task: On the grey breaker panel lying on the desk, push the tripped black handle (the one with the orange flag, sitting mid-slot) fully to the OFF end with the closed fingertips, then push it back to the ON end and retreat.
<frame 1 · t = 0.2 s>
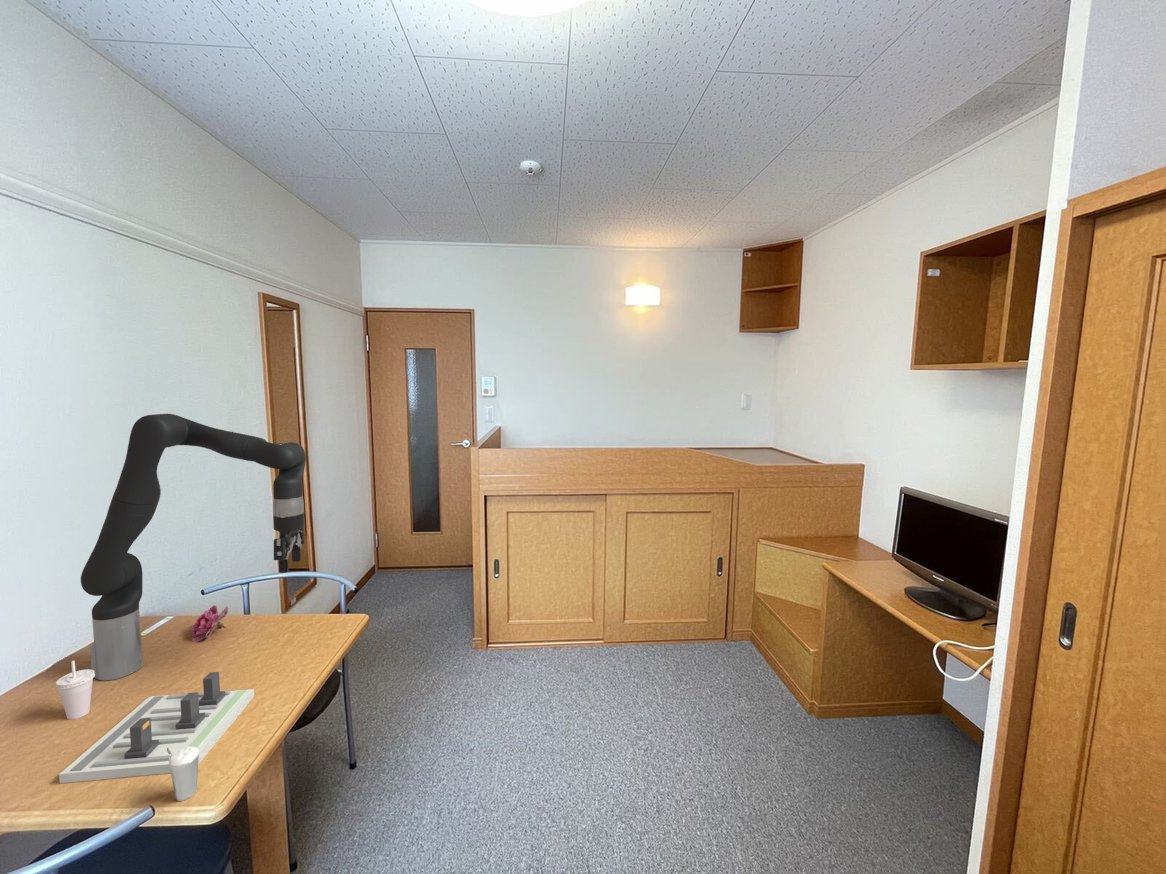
hand: (290, 566, 134), 29 cm above the table, fingers open, 8 cm apart
milkshake: (184, 795, 91), on the table
flower: (209, 635, 149), on the table
panel: (169, 734, 107), on the table
tripped breaker: (141, 737, 98), point 6 cm above the table, slide at 0.0 cm
smoothie: (78, 714, 112), on the table
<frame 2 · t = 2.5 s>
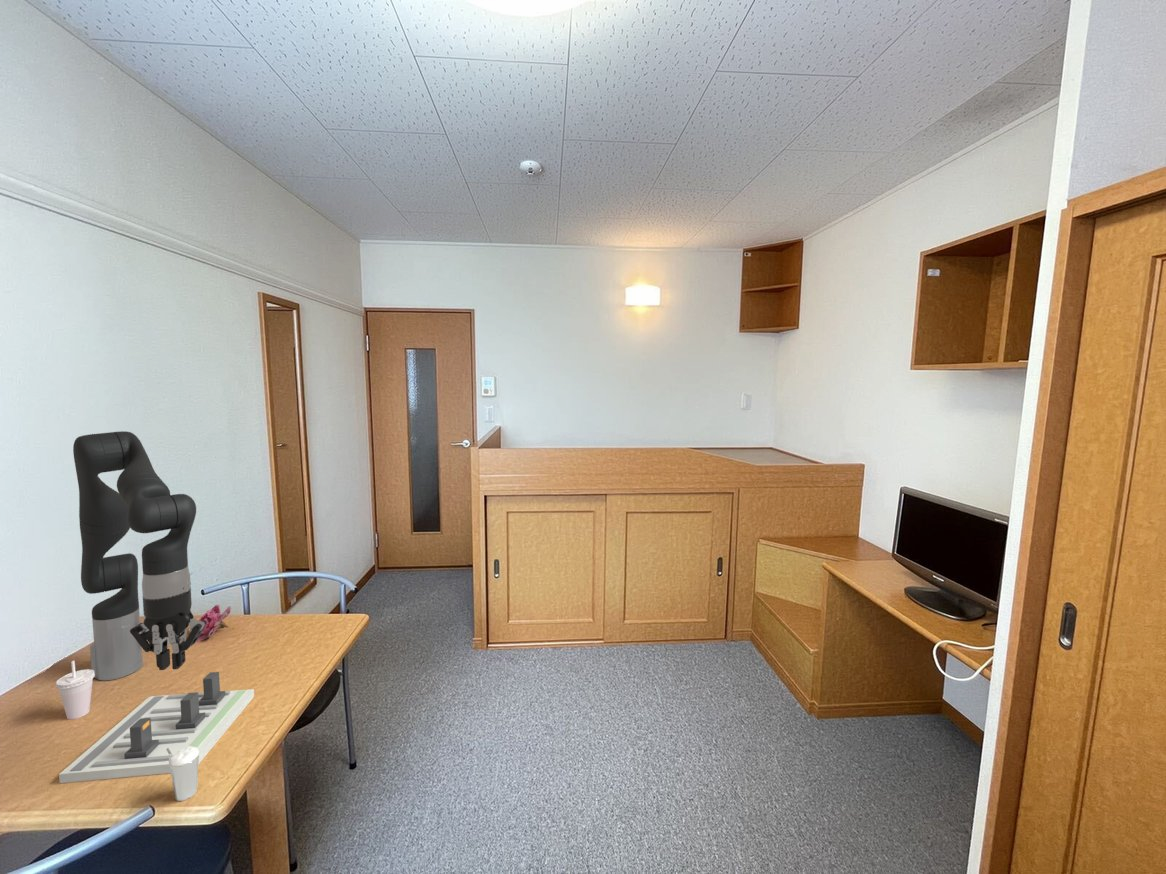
hand: (171, 667, 98), 21 cm above the table, fingers closed
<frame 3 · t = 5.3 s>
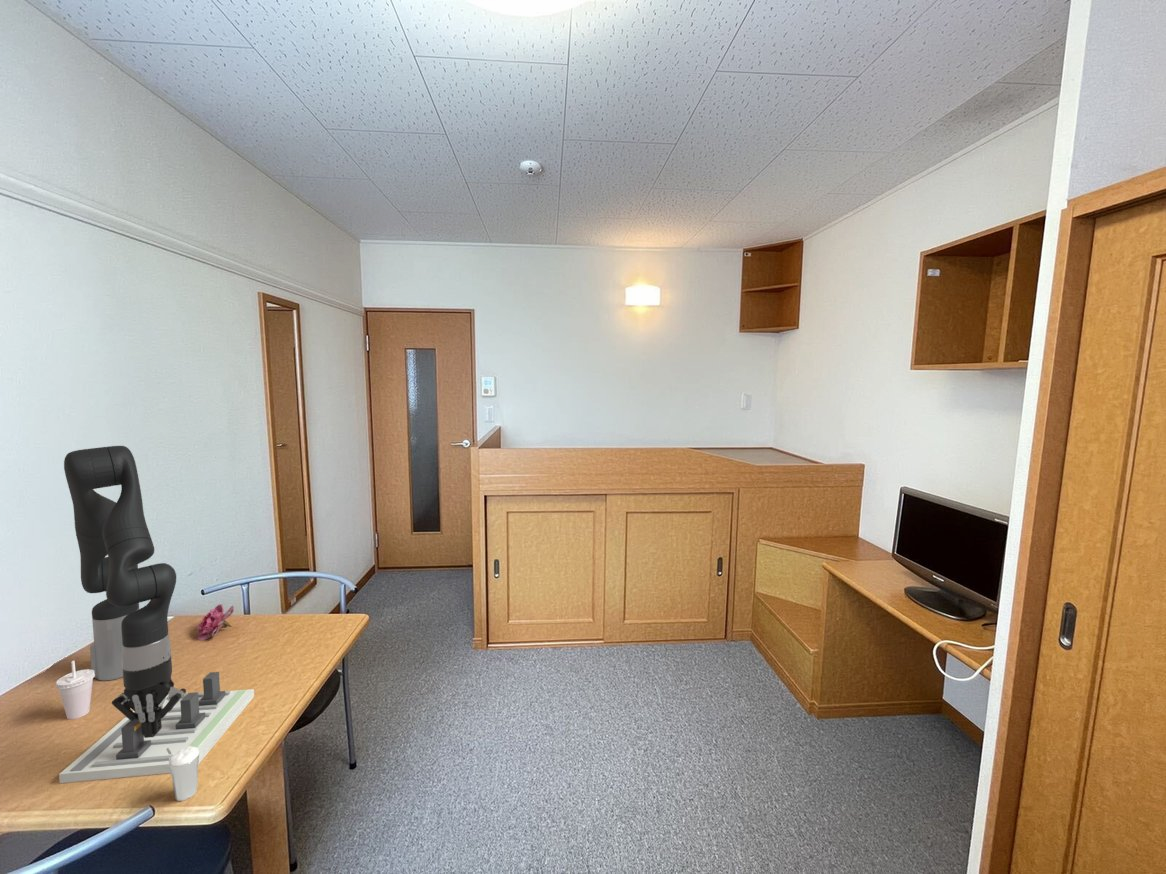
hand: (152, 734, 99), 6 cm above the table, fingers closed
tripped breaker: (133, 737, 98), point 6 cm above the table, slide at -1.5 cm, touching gripper
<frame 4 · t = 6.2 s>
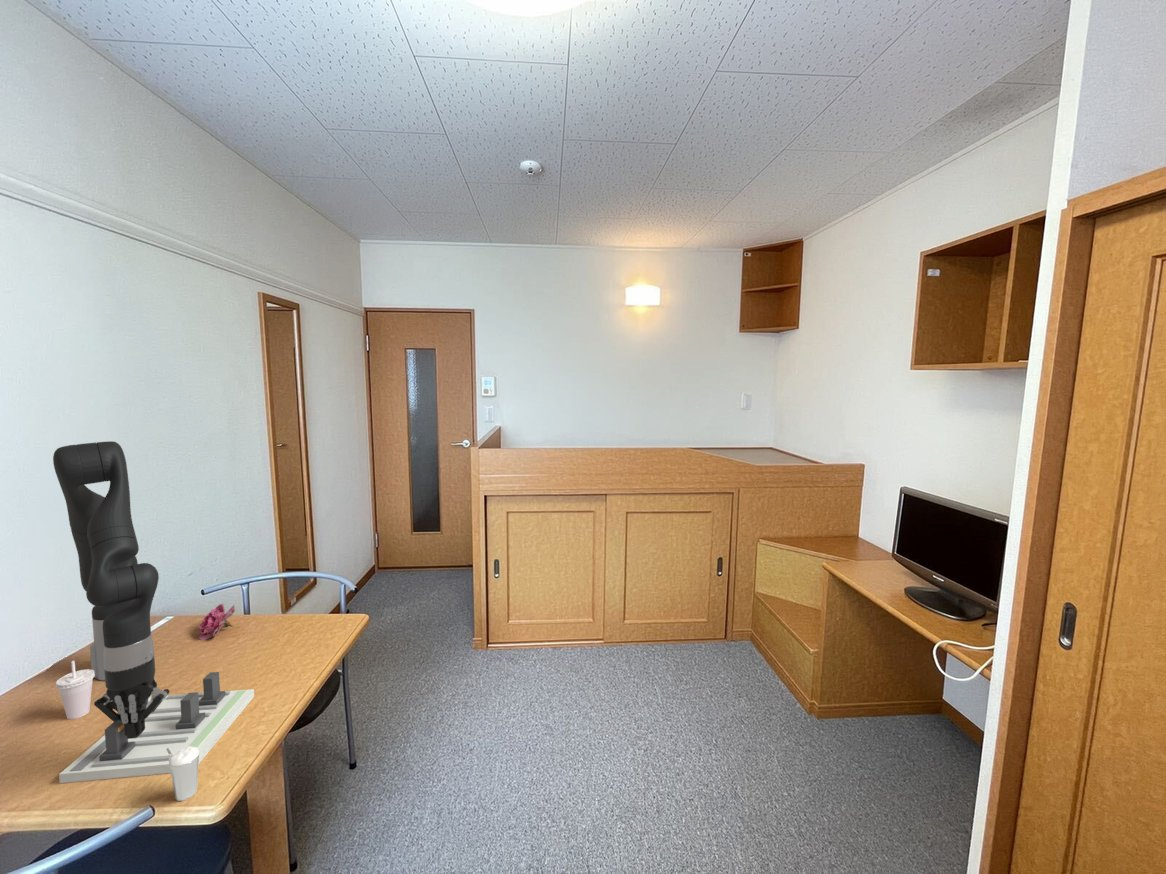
hand: (135, 735, 98), 6 cm above the table, fingers closed
tripped breaker: (116, 739, 98), point 6 cm above the table, slide at -4.5 cm, touching gripper
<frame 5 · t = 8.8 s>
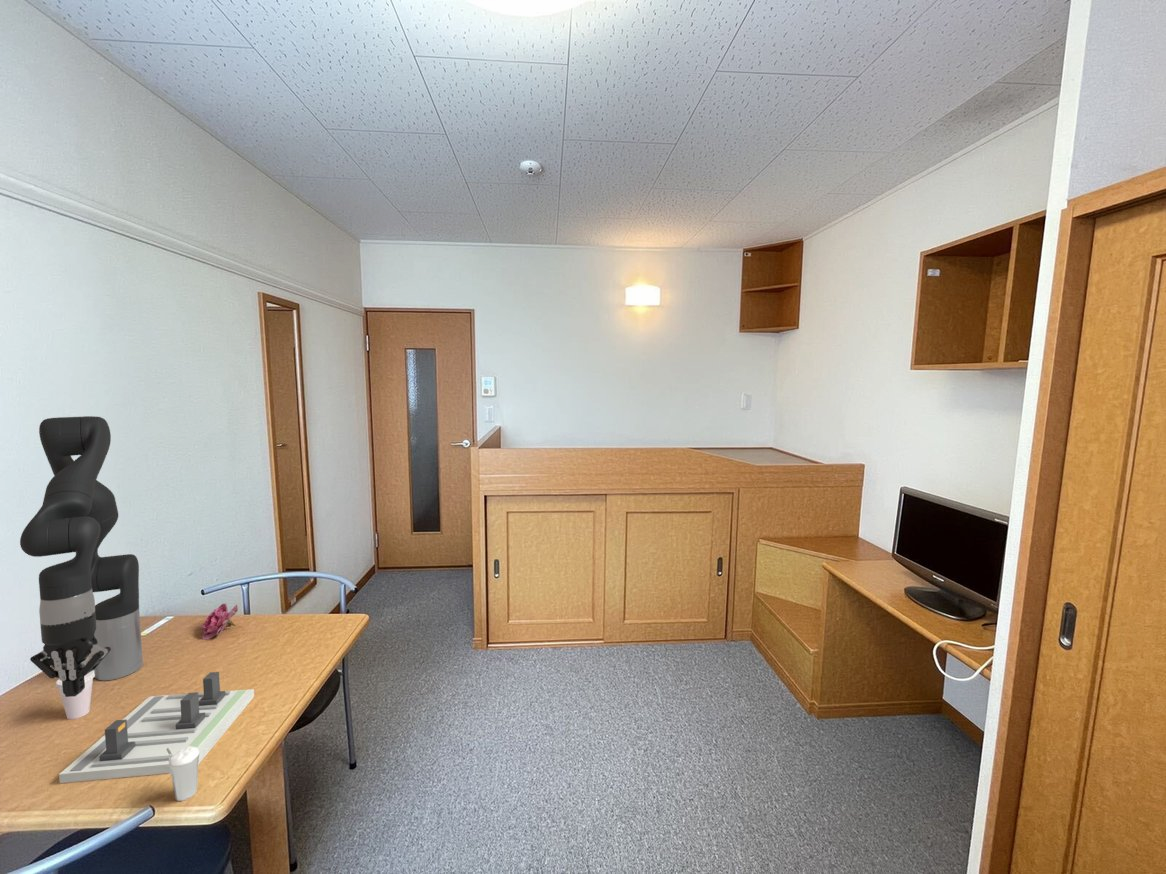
hand: (74, 694, 95), 16 cm above the table, fingers closed
tripped breaker: (116, 739, 98), point 6 cm above the table, slide at -4.5 cm
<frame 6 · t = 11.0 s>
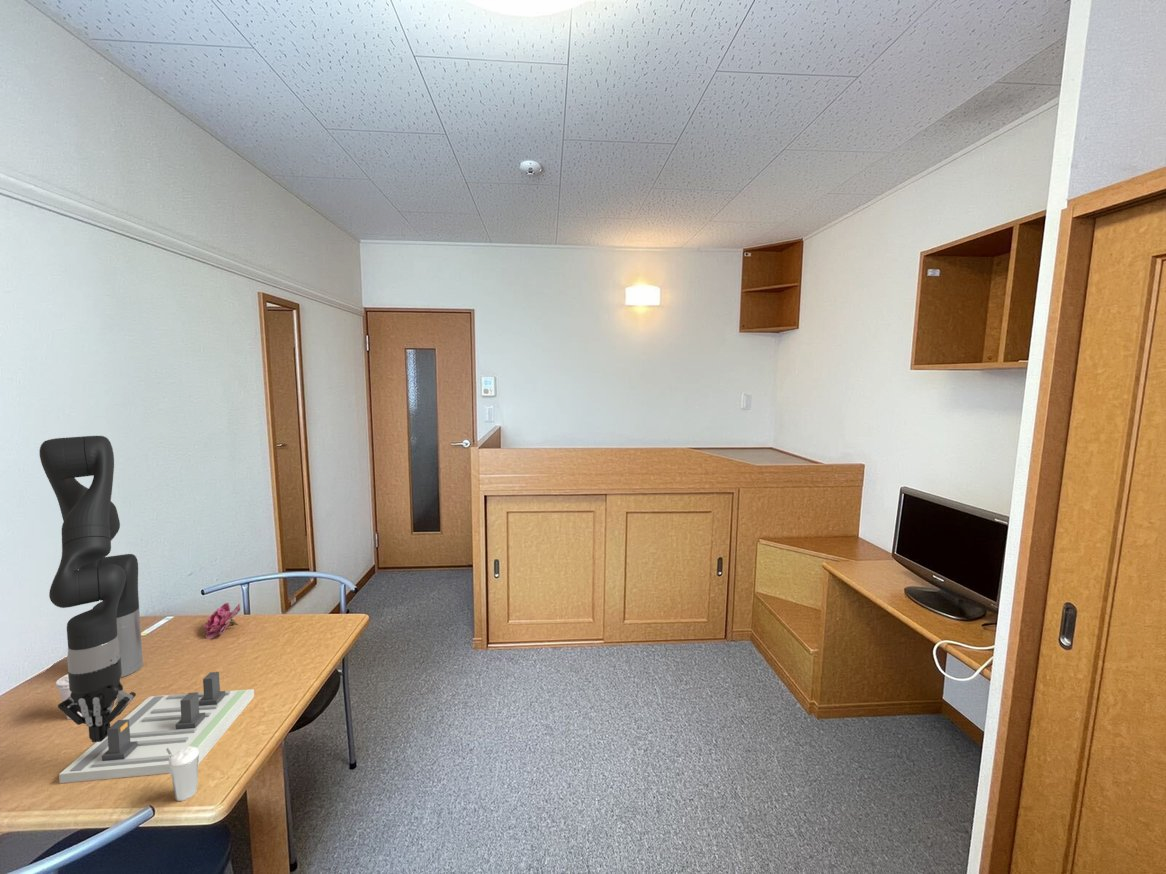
hand: (100, 739, 97), 6 cm above the table, fingers closed
tripped breaker: (119, 739, 98), point 6 cm above the table, slide at -4.1 cm, touching gripper
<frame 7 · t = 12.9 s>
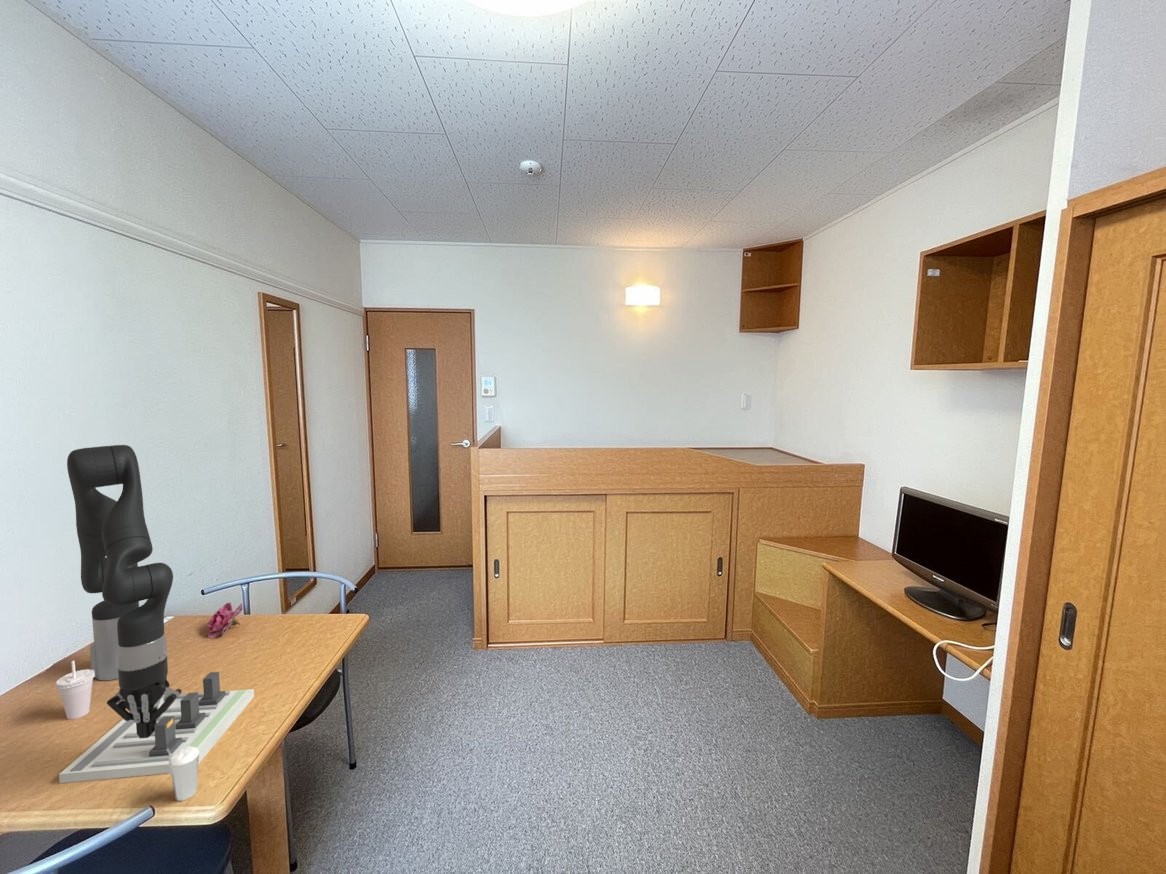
hand: (147, 735, 98), 6 cm above the table, fingers closed
tripped breaker: (165, 735, 99), point 6 cm above the table, slide at 4.5 cm, touching gripper
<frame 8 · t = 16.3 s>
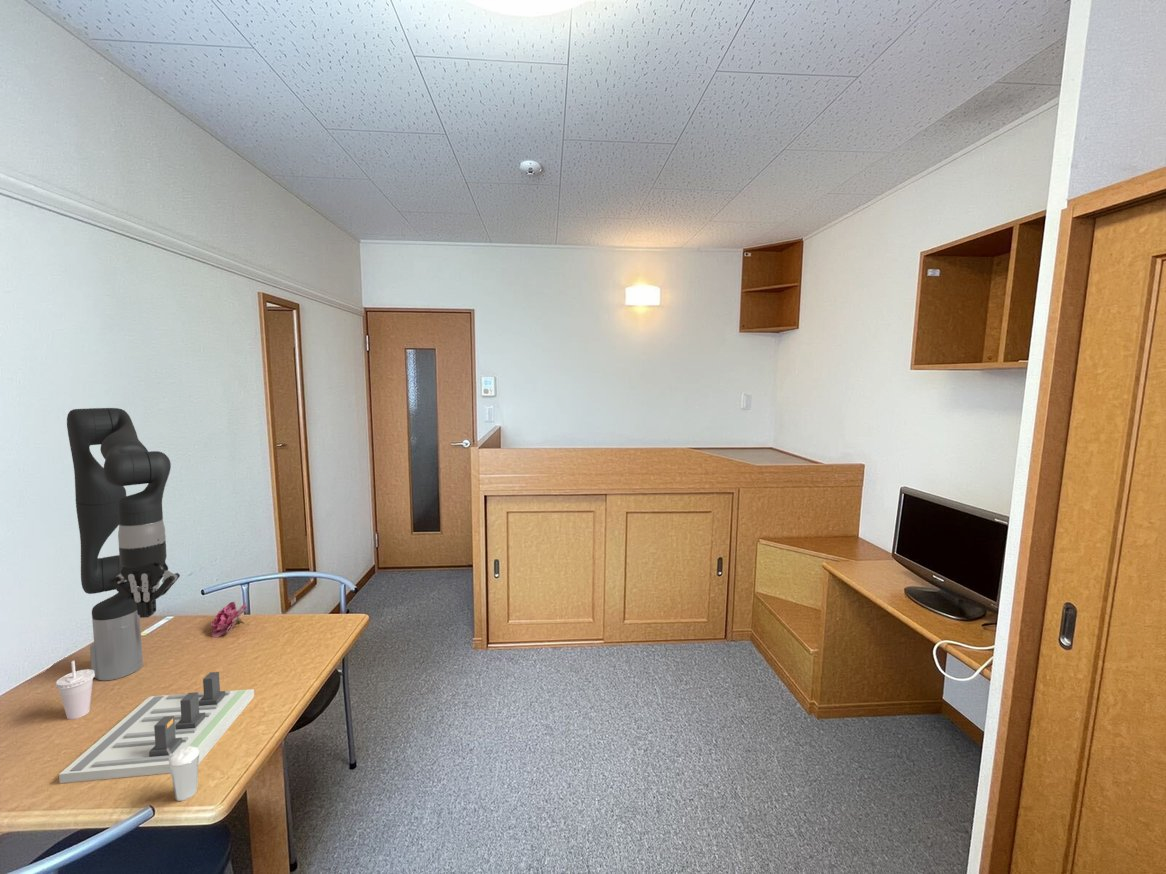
hand: (147, 615, 103), 29 cm above the table, fingers closed
flower: (228, 631, 152), on the table
tripped breaker: (165, 735, 99), point 6 cm above the table, slide at 4.5 cm
everything else where it was.
at the end: tripped breaker slide at 4.5 cm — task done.
